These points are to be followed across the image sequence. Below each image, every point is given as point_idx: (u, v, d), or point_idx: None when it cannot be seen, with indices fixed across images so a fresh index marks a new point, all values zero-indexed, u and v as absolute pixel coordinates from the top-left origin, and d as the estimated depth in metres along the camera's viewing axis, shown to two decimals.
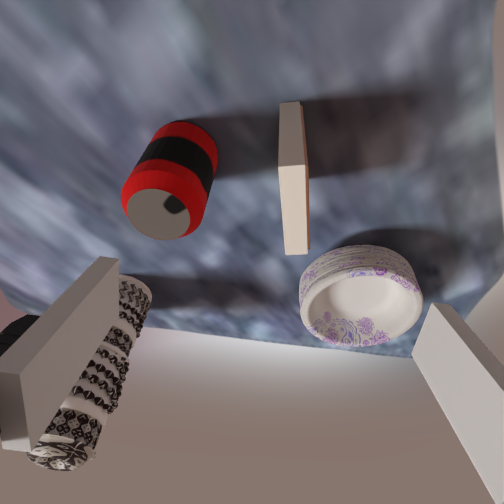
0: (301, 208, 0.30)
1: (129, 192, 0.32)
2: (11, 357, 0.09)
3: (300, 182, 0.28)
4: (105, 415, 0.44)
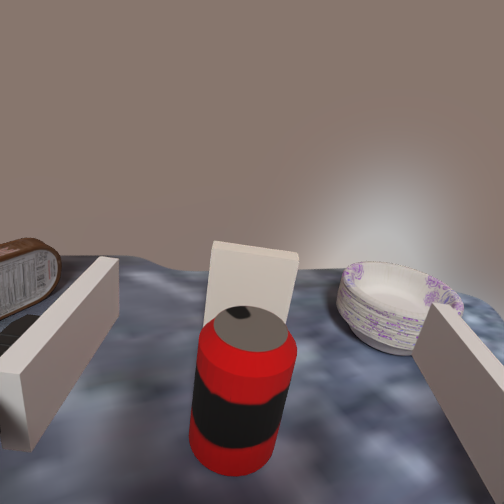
0: (250, 247, 0.39)
1: (216, 344, 0.26)
2: (11, 357, 0.09)
3: (227, 244, 0.38)
4: None
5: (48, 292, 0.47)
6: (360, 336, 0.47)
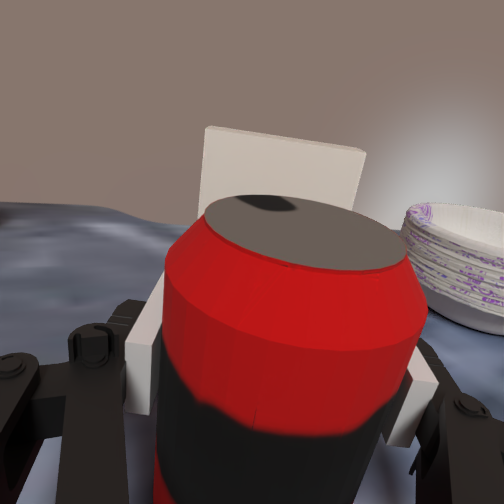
0: (275, 136, 0.22)
1: (211, 257, 0.09)
2: (139, 332, 0.11)
3: (234, 129, 0.21)
4: None
5: None
6: (439, 307, 0.30)
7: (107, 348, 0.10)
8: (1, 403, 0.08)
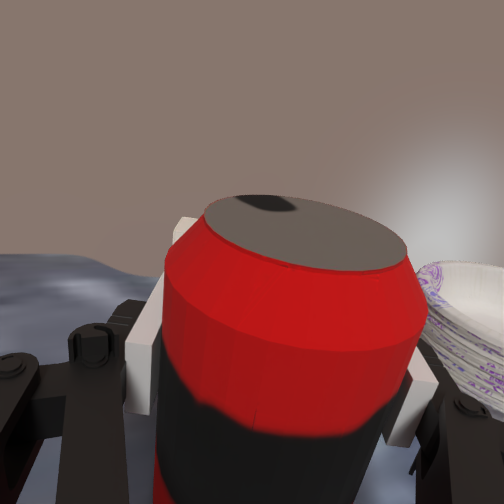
0: None
1: (211, 257, 0.09)
2: (139, 332, 0.11)
3: None
4: None
5: None
6: None
7: (107, 348, 0.10)
8: (1, 403, 0.08)
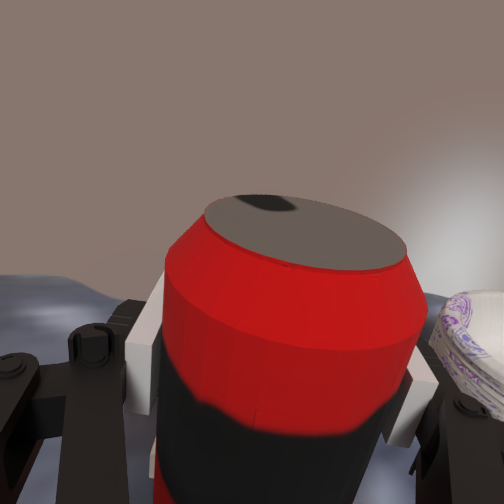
0: None
1: (211, 257, 0.09)
2: (139, 332, 0.11)
3: None
4: None
5: None
6: None
7: (107, 348, 0.10)
8: (1, 403, 0.08)
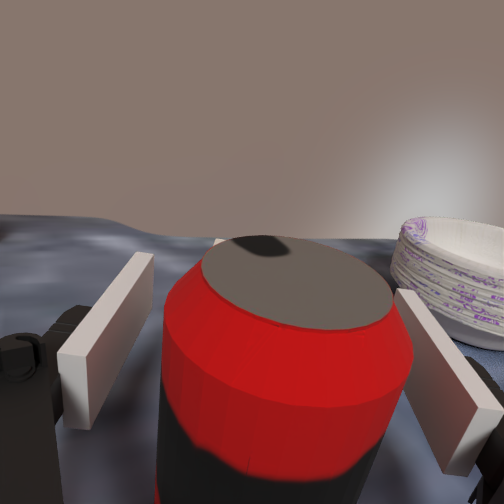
0: None
1: (207, 312, 0.09)
2: (75, 342, 0.10)
3: None
4: None
5: None
6: None
7: (33, 359, 0.09)
8: None
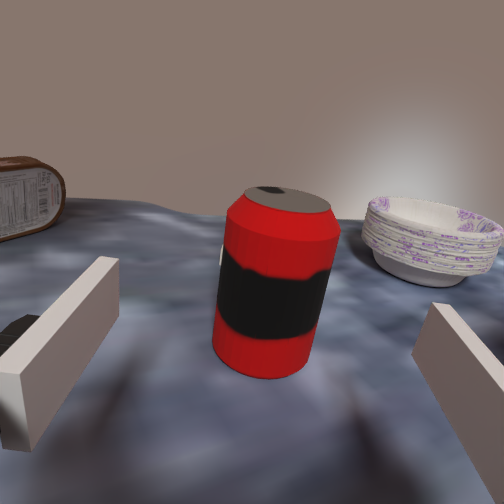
0: None
1: (249, 209, 0.22)
2: (11, 357, 0.09)
3: None
4: None
5: (51, 221, 0.43)
6: (389, 268, 0.44)
7: None
8: None
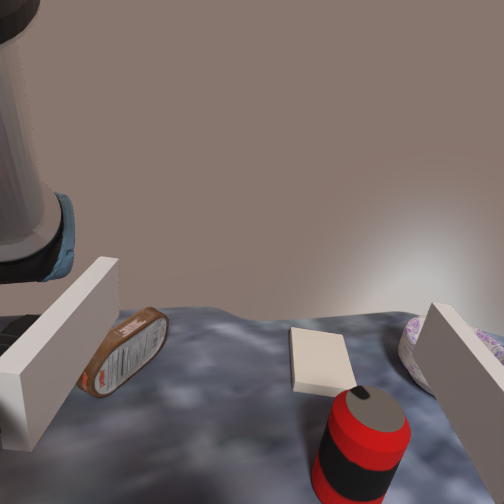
0: None
1: (354, 425, 0.34)
2: (11, 357, 0.09)
3: None
4: None
5: (158, 350, 0.55)
6: (423, 386, 0.55)
7: None
8: None
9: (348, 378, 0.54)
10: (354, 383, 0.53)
